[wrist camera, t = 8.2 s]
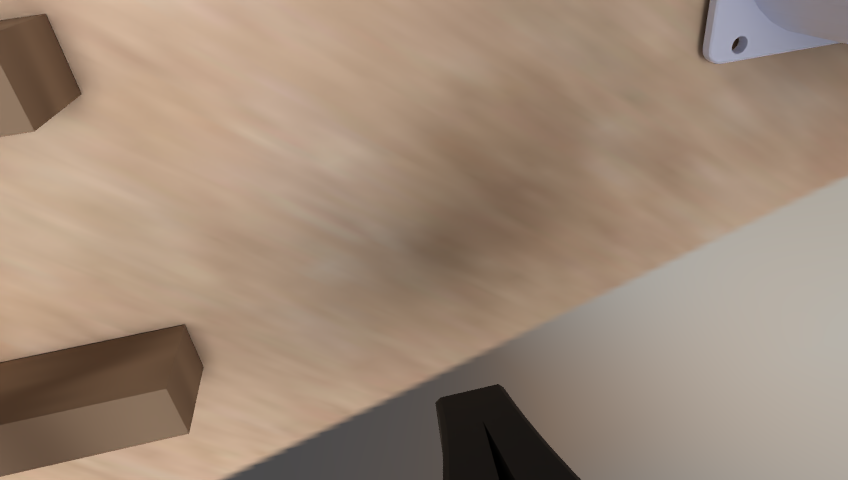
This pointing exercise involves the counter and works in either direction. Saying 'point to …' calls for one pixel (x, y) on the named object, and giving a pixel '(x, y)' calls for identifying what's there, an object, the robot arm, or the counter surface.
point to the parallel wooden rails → (91, 364)
